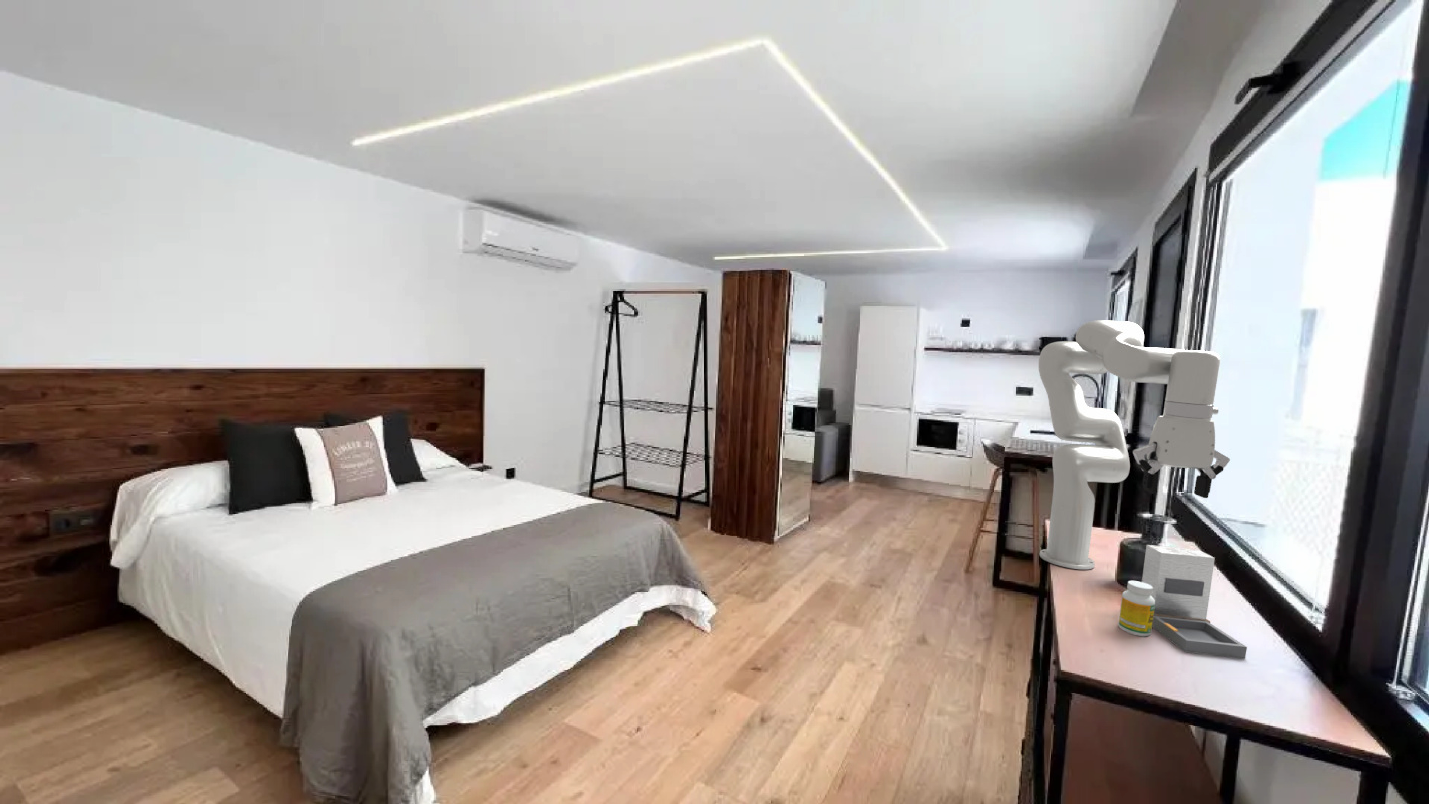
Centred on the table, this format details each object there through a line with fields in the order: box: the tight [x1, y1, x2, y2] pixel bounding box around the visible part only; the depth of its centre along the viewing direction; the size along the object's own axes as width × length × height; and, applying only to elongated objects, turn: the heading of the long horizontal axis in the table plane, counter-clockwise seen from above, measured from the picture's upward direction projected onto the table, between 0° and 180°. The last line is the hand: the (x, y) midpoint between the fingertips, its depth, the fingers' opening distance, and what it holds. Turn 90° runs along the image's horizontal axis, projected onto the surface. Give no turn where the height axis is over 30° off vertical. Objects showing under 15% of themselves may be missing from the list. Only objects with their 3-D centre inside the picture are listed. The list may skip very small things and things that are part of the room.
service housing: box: [1141, 544, 1216, 624], centre depth 121 cm, size 6×11×15 cm, turn 82°
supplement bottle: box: [1117, 580, 1155, 637], centre depth 115 cm, size 5×5×10 cm
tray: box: [1152, 616, 1248, 659], centre depth 112 cm, size 10×10×2 cm
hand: (1174, 494), depth 118 cm, fingers open, 9 cm apart
